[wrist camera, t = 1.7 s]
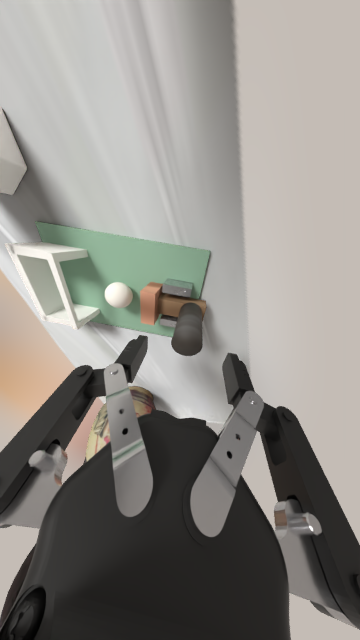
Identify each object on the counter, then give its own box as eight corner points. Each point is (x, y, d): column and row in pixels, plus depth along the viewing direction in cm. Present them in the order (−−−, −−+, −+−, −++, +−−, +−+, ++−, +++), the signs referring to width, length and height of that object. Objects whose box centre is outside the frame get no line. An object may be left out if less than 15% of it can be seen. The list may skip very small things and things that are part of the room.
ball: (112, 277, 22) (96, 284, 18) (136, 281, 22) (124, 289, 18) (115, 299, 24) (101, 309, 20) (137, 303, 24) (126, 314, 20)
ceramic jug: (170, 390, 38) (111, 701, 12) (155, 411, 46) (99, 626, 21) (112, 369, 36) (-96, 683, 11) (106, 395, 44) (-19, 608, 19)
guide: (167, 278, 21) (162, 283, 18) (192, 282, 20) (191, 289, 18) (164, 315, 24) (159, 324, 22) (185, 319, 24) (183, 329, 22)
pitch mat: (38, 221, 19) (34, 221, 19) (210, 250, 18) (210, 251, 18) (71, 315, 28) (69, 317, 27) (189, 338, 27) (189, 340, 27)
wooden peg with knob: (150, 281, 21) (118, 311, 13) (207, 291, 21) (212, 329, 12) (150, 309, 24) (122, 348, 15) (200, 318, 23) (200, 364, 15)
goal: (45, 242, 20) (-3, 243, 15) (86, 249, 20) (51, 253, 15) (67, 306, 26) (38, 322, 21) (100, 312, 26) (77, 329, 21)
